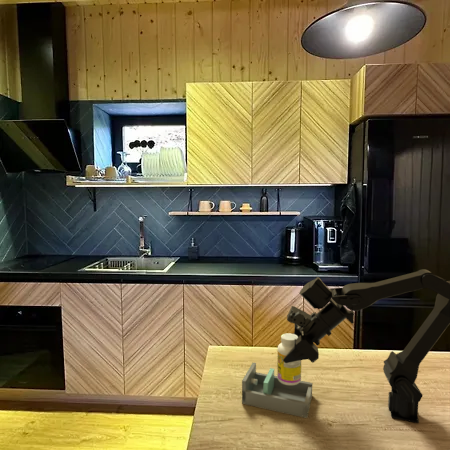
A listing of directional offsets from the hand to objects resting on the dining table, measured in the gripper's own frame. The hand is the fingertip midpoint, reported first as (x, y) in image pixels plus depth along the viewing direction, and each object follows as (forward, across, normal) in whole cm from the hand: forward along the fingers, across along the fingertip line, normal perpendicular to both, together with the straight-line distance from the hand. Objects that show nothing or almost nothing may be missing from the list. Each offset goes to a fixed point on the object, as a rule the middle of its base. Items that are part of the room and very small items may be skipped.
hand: (284, 355), depth 99 cm
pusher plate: (+12, 0, +5) cm, 13 cm away
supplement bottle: (+4, 0, +6) cm, 7 cm away
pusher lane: (+11, 0, +8) cm, 13 cm away
